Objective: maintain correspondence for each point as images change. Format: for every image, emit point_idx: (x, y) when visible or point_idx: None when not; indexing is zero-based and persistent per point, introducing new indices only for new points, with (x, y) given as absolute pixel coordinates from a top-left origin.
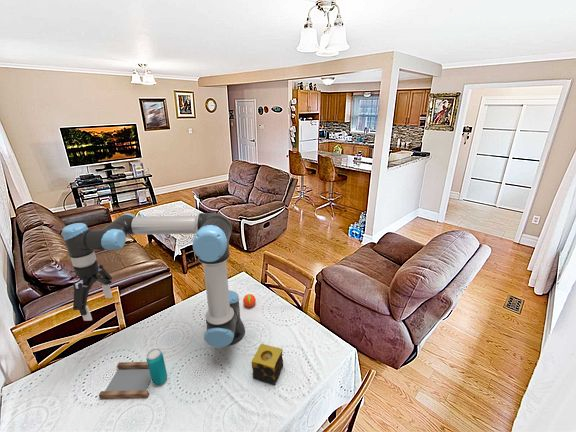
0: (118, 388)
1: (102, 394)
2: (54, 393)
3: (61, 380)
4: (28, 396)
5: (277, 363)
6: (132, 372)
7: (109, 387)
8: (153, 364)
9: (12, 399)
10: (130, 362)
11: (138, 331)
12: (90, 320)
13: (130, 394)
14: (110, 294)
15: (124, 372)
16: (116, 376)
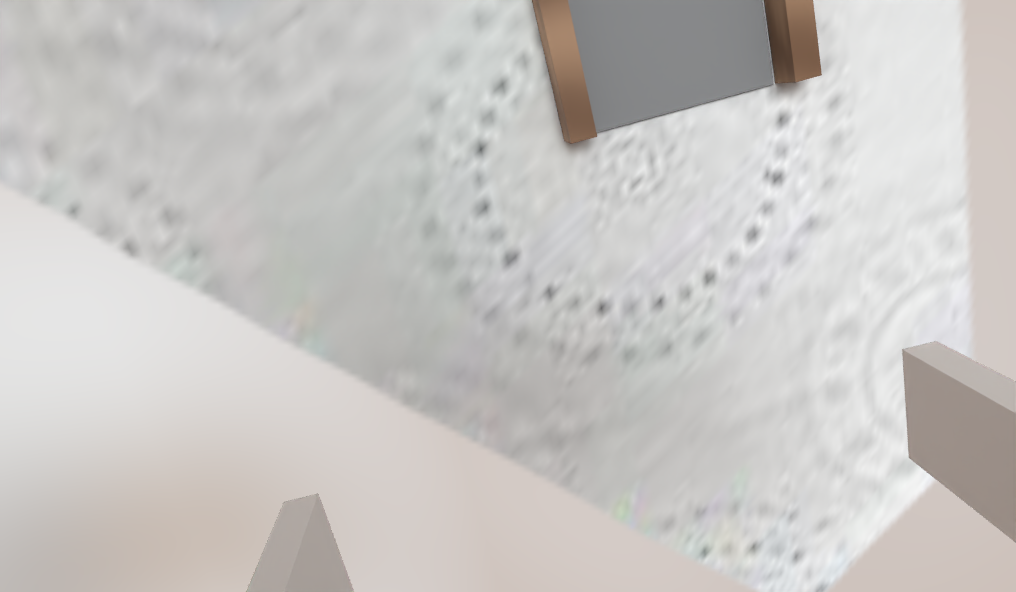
0: (721, 9)
1: (816, 50)
2: (794, 378)
3: (717, 416)
4: (823, 488)
5: None
6: (592, 5)
7: (723, 80)
8: None
9: (845, 543)
10: (552, 51)
11: (245, 254)
12: (938, 349)
13: None
14: (299, 549)
15: (603, 66)
16: (642, 99)
